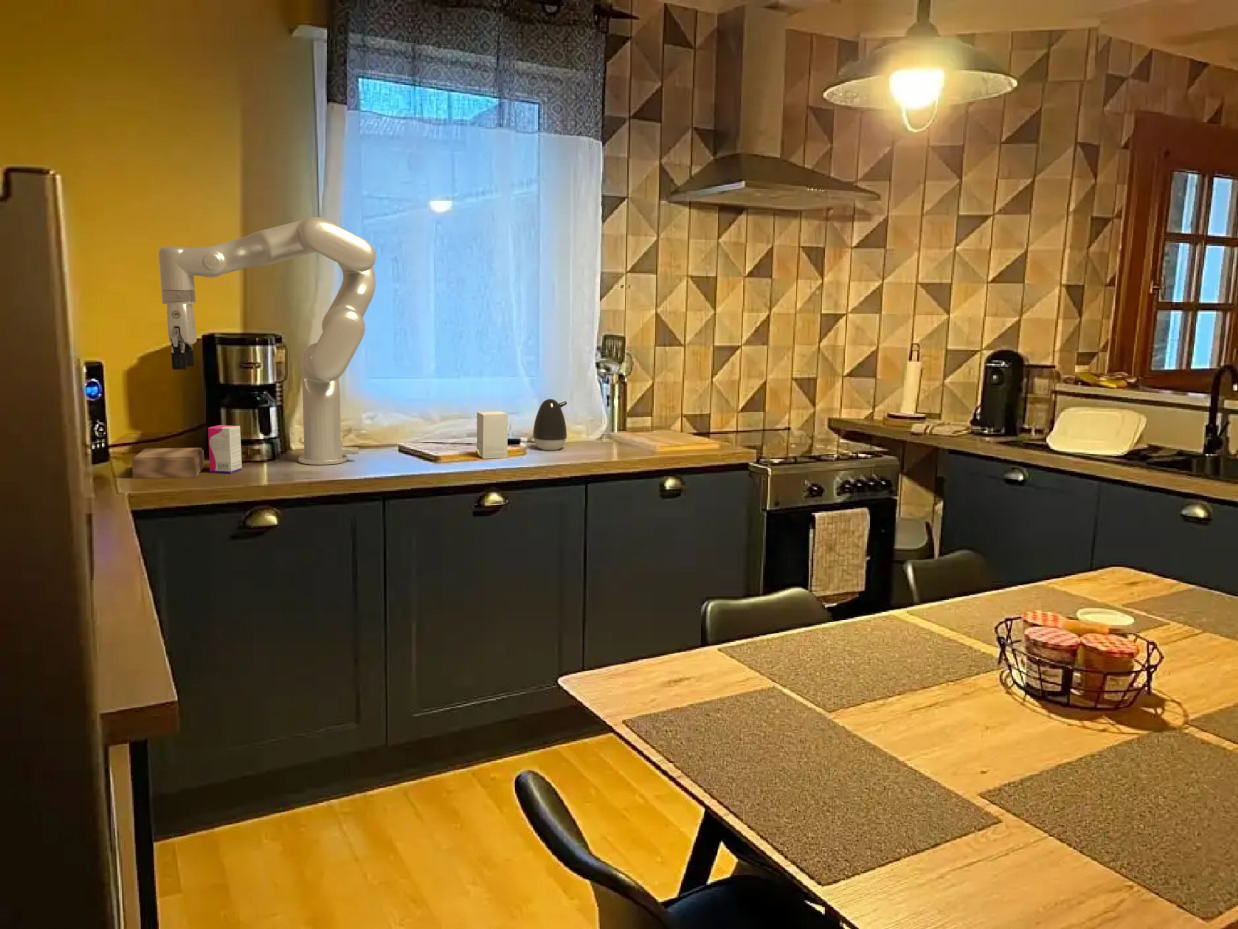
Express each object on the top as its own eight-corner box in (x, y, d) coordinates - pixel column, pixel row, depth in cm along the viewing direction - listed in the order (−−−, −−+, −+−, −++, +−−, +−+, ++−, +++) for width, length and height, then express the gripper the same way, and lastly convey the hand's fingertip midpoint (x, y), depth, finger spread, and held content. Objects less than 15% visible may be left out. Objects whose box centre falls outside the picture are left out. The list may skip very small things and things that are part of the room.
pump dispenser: (572, 451, 289) (573, 400, 286) (539, 452, 284) (540, 401, 282) (559, 445, 298) (560, 396, 295) (527, 447, 293) (528, 397, 291)
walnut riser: (204, 466, 248) (203, 447, 247) (196, 477, 235) (195, 456, 234) (144, 467, 244) (143, 448, 243) (132, 478, 231) (131, 457, 230)
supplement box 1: (242, 469, 246) (241, 425, 244) (231, 474, 240) (229, 428, 238) (221, 468, 246) (219, 424, 244) (209, 473, 240) (206, 427, 238)
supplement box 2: (508, 458, 273) (508, 413, 271) (482, 459, 271) (482, 414, 269) (501, 453, 280) (501, 410, 278) (476, 454, 277) (476, 411, 275)
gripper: (188, 298, 230) (193, 370, 234) (201, 297, 247) (205, 364, 250) (154, 298, 229) (159, 370, 232) (169, 297, 245) (174, 365, 248)
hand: (183, 367), depth 241 cm, fingers open, 9 cm apart
